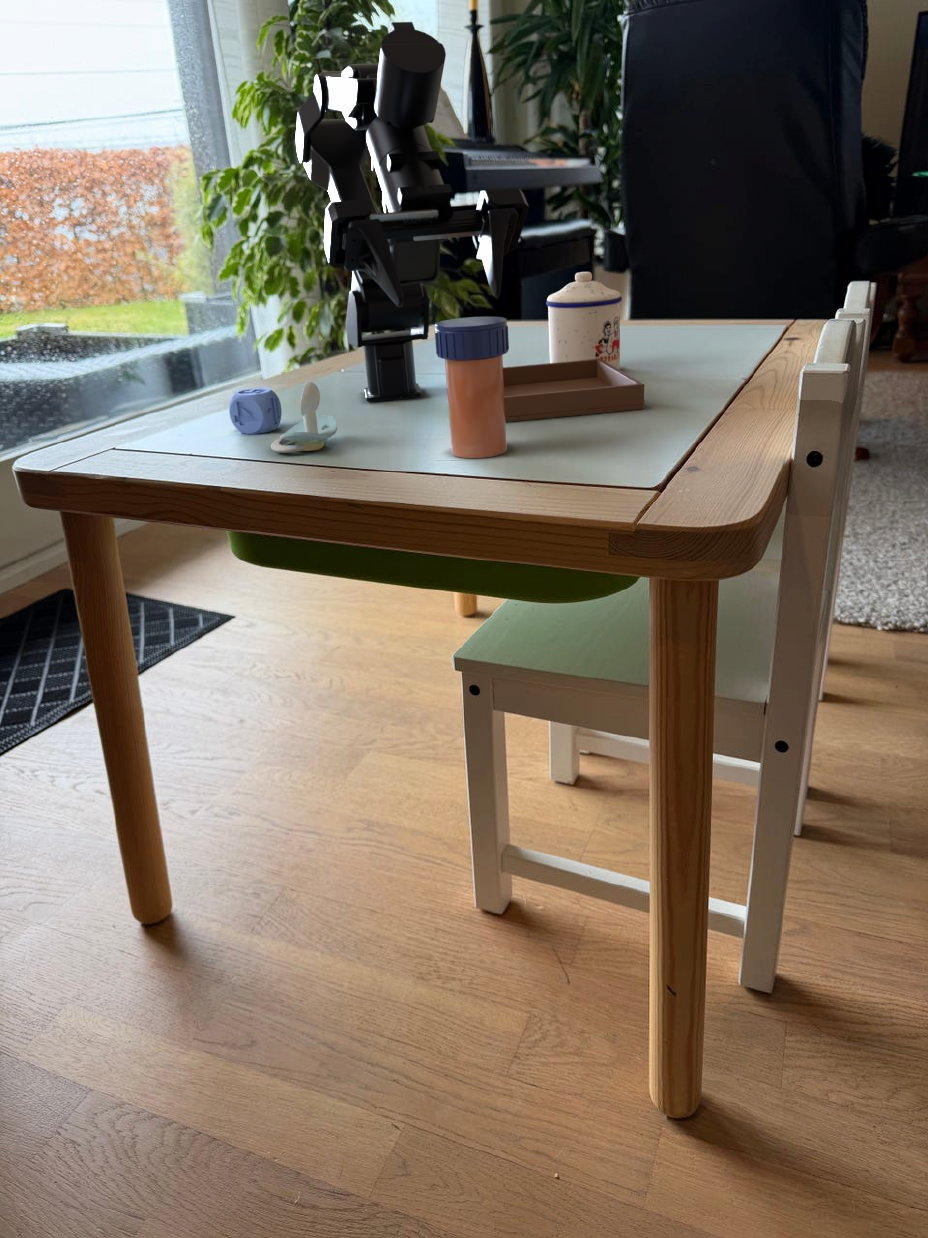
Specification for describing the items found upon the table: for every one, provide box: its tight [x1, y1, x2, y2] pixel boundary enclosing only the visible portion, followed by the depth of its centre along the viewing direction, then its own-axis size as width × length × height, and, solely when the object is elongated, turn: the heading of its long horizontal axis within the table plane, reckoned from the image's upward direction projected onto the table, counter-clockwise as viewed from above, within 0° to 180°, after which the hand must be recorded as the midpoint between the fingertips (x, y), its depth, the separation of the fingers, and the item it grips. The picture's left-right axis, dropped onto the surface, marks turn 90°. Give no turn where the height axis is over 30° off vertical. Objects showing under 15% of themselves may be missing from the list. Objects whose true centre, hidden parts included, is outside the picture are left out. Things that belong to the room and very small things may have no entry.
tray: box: [503, 359, 645, 423], centre depth 103 cm, size 17×15×2 cm
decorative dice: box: [228, 387, 283, 435], centre depth 99 cm, size 4×4×4 cm
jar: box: [444, 355, 508, 459], centre depth 83 cm, size 5×5×11 cm
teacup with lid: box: [545, 271, 623, 370], centre depth 117 cm, size 12×9×12 cm
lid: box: [434, 316, 510, 360], centre depth 82 cm, size 6×6×3 cm
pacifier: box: [270, 380, 338, 454], centre depth 90 cm, size 7×6×6 cm
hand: (450, 298), depth 85 cm, fingers open, 9 cm apart
